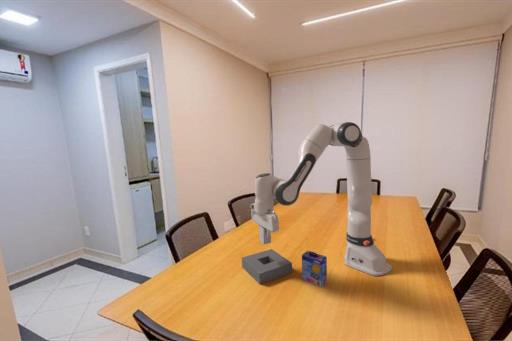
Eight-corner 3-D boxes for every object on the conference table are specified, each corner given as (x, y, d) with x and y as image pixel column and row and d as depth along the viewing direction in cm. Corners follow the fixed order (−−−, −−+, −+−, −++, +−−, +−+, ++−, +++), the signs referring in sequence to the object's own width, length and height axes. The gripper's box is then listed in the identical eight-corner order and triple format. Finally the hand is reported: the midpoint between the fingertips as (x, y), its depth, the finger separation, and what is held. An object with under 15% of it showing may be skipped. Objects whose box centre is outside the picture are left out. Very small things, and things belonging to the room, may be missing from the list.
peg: (270, 242, 119) (270, 226, 118) (263, 244, 117) (263, 228, 116) (266, 239, 123) (266, 224, 122) (259, 241, 121) (259, 225, 120)
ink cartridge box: (301, 280, 112) (300, 249, 110) (307, 274, 116) (306, 245, 114) (321, 287, 105) (321, 255, 104) (327, 282, 110) (327, 251, 108)
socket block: (292, 272, 118) (291, 262, 118) (259, 284, 110) (259, 273, 109) (271, 257, 134) (271, 248, 133) (242, 266, 125) (241, 257, 125)
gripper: (282, 211, 110) (282, 240, 112) (259, 202, 128) (260, 227, 130) (270, 213, 107) (271, 244, 109) (248, 203, 125) (249, 230, 127)
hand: (265, 235), depth 120 cm, fingers closed on peg, 4 cm apart
